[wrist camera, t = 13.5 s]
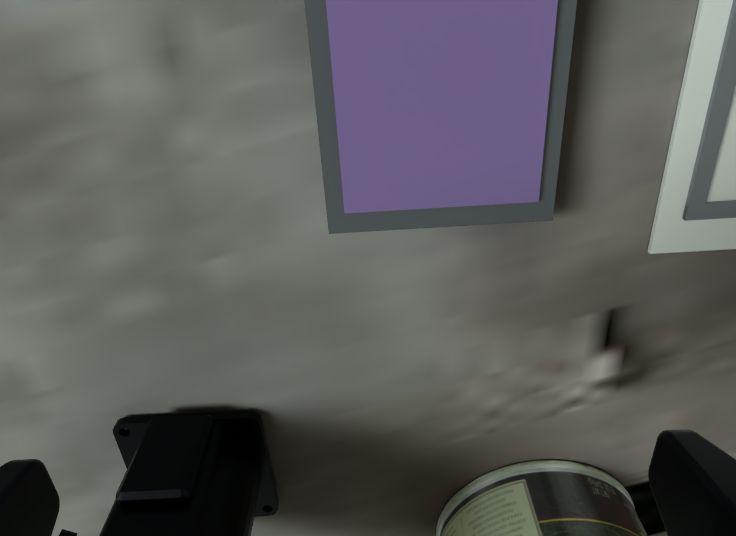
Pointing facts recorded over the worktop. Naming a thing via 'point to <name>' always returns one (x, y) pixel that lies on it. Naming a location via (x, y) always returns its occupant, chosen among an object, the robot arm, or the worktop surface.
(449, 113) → the ink pad
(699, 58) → the sheet
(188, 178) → the worktop surface
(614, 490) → the coffee can
